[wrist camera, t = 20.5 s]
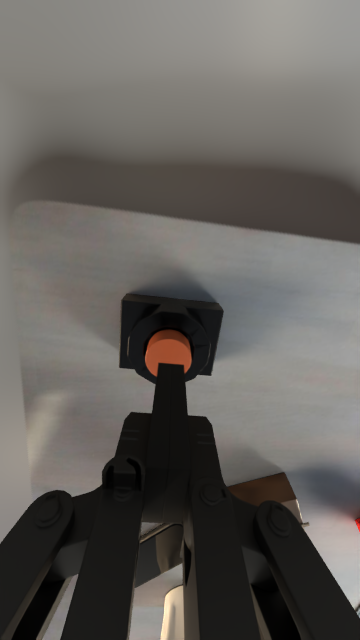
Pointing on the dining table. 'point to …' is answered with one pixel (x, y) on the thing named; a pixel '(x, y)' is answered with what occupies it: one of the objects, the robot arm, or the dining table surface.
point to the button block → (168, 313)
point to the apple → (358, 523)
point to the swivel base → (269, 493)
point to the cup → (173, 615)
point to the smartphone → (159, 552)
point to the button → (168, 350)
